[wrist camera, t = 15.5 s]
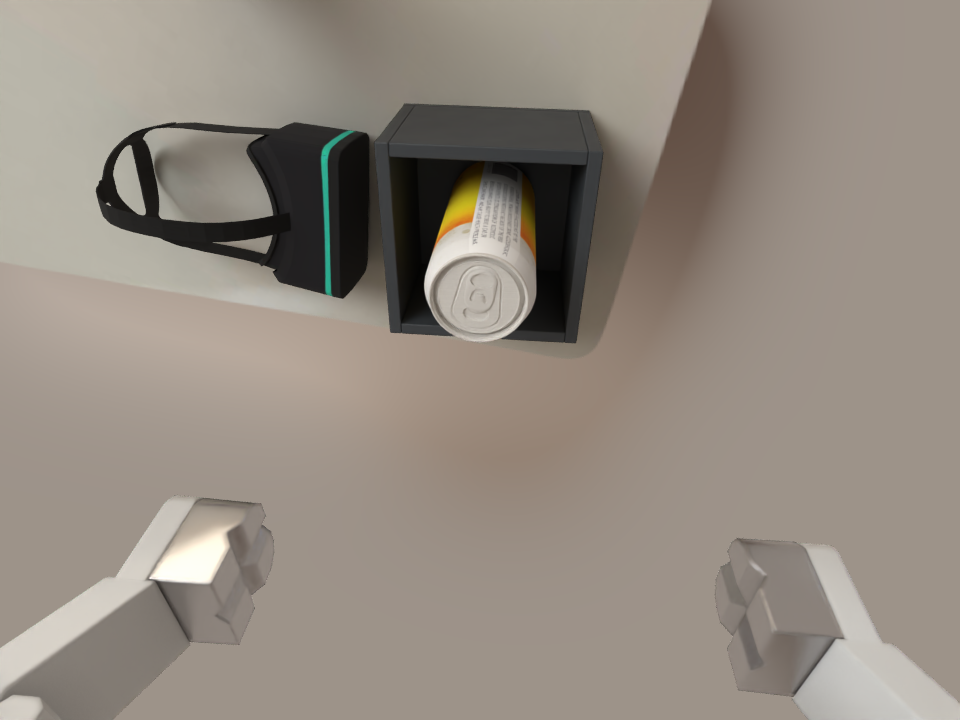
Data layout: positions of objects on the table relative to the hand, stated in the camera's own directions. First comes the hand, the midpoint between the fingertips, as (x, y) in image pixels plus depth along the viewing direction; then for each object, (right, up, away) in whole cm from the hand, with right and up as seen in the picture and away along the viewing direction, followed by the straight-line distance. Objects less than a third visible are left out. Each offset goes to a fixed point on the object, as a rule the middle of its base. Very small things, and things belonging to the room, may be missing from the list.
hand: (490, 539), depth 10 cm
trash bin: (+1, +15, +33) cm, 36 cm away
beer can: (+1, +15, +32) cm, 36 cm away
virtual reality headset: (-17, +16, +34) cm, 41 cm away
